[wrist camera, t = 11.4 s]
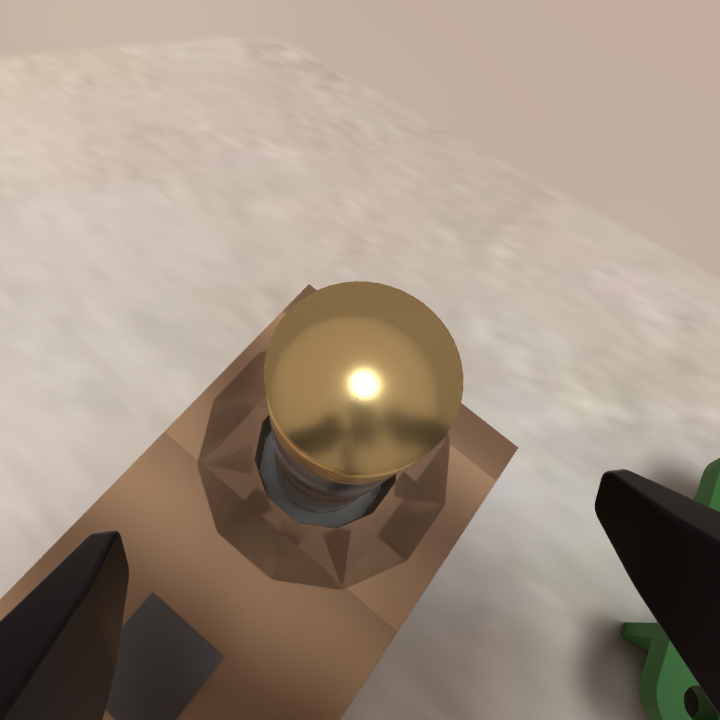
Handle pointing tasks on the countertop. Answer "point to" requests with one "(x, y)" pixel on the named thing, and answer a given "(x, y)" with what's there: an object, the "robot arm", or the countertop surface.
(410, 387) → the grey and gold cylinder
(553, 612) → the countertop surface
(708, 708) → the clamp
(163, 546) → the socket plate
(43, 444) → the countertop surface
